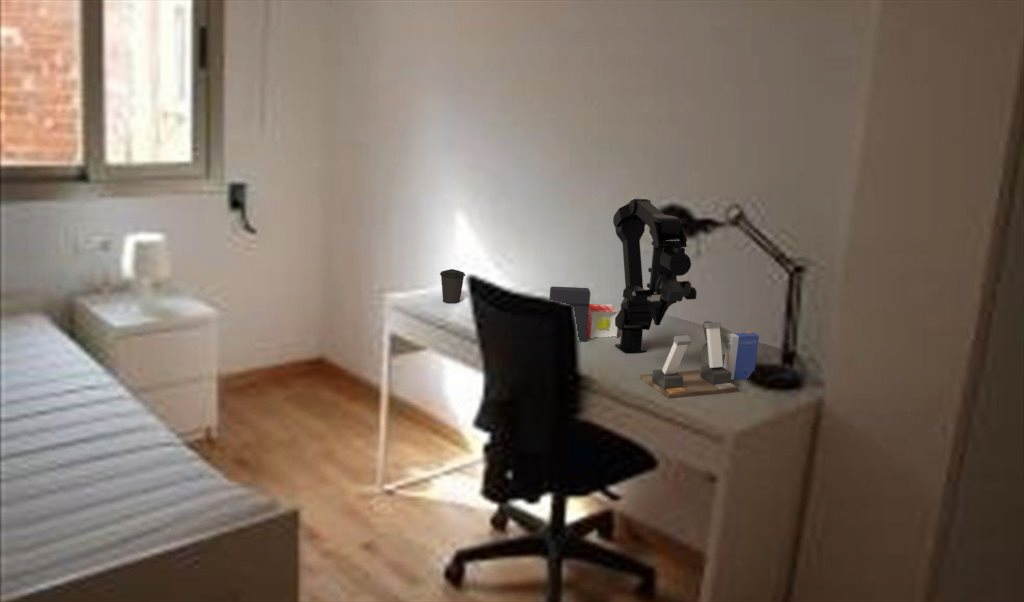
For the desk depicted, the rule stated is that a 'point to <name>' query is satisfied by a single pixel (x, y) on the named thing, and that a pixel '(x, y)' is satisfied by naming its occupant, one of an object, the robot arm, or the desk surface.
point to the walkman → (741, 354)
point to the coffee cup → (452, 285)
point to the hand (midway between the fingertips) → (657, 324)
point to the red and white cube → (601, 320)
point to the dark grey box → (575, 305)
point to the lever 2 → (714, 344)
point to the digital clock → (723, 335)
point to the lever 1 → (676, 354)
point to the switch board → (691, 382)
